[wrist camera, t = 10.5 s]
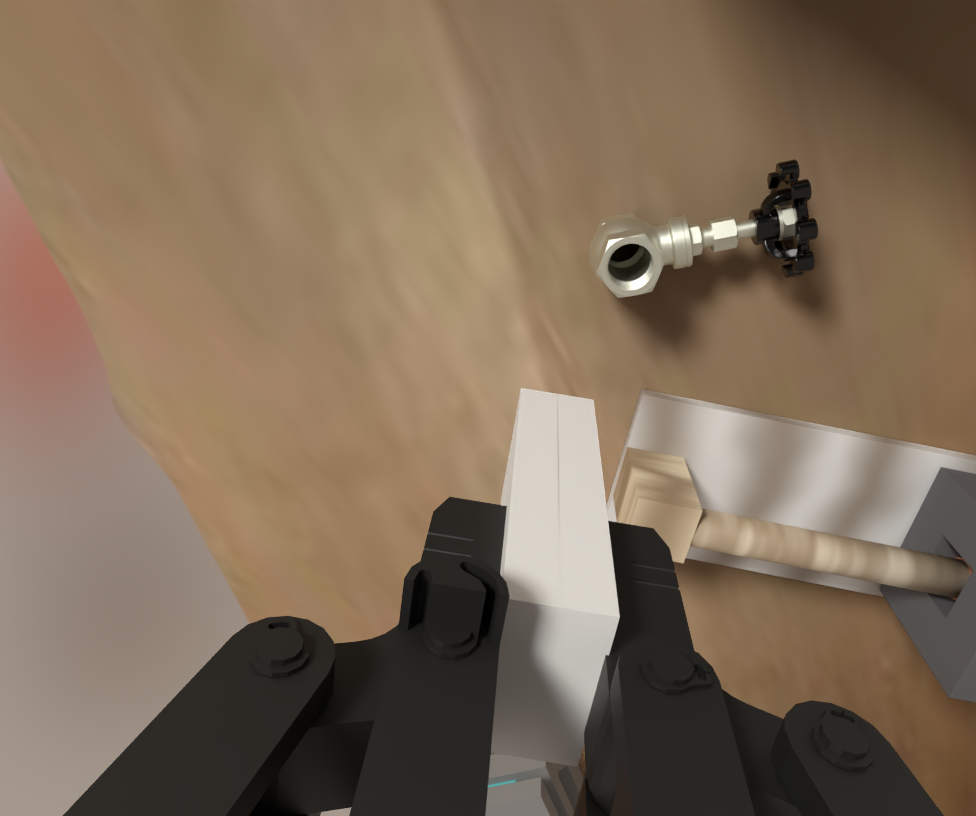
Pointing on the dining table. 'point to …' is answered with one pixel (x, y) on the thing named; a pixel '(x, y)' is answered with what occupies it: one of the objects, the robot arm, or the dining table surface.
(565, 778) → the grey grooved block
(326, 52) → the dining table surface
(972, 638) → the collar
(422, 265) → the dining table surface
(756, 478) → the rail
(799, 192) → the valve
